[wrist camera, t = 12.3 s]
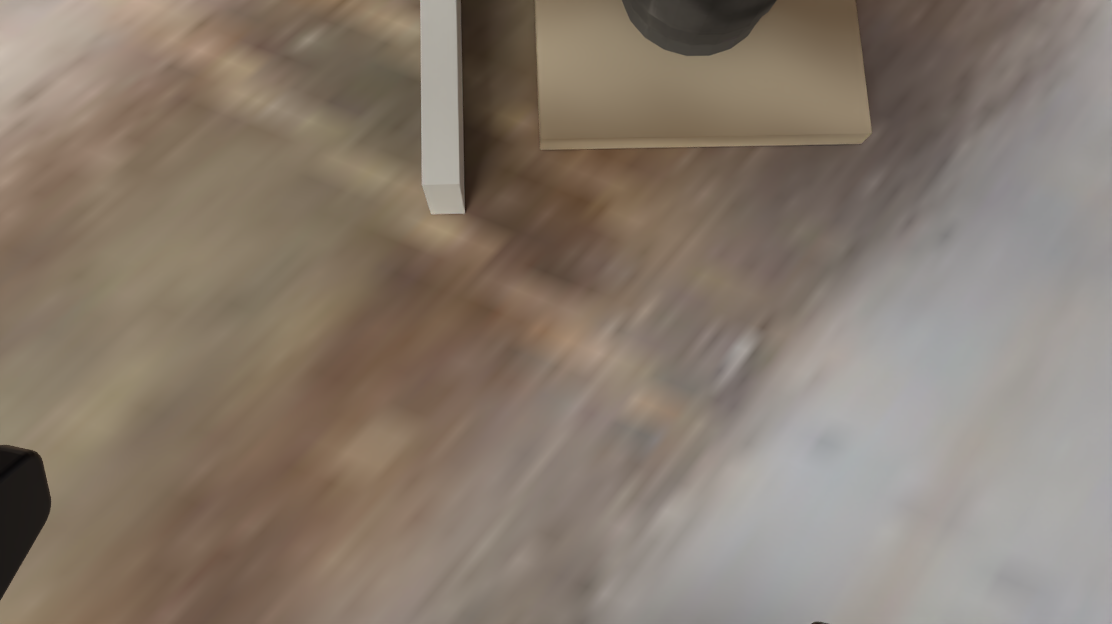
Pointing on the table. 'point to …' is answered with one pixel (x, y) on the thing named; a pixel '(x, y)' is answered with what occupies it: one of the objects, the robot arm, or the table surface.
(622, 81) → the coaster
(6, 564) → the robot arm
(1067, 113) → the table surface
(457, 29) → the divider wall
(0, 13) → the table surface
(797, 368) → the table surface
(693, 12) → the beverage cup
